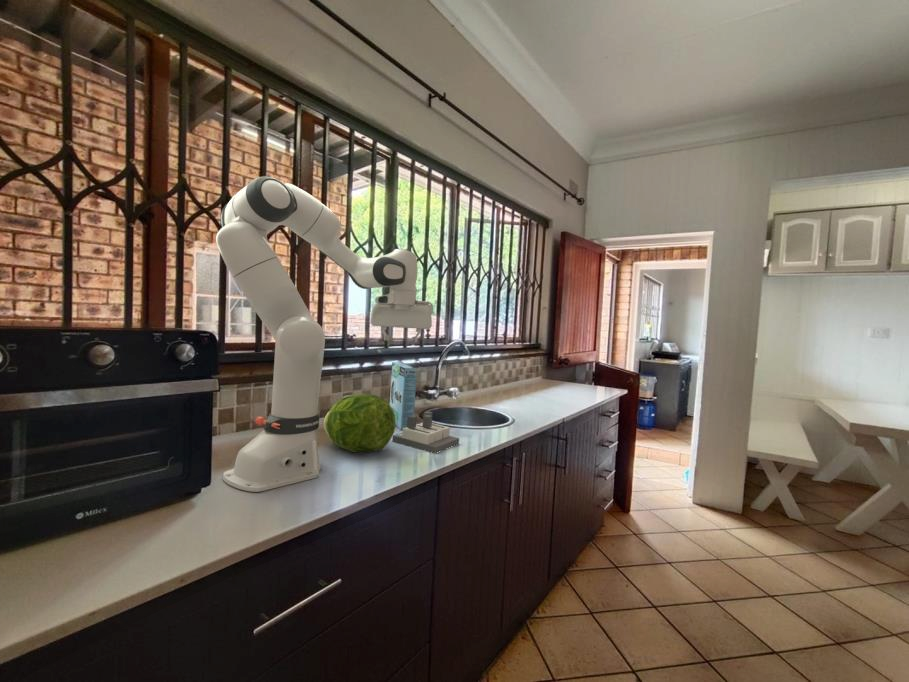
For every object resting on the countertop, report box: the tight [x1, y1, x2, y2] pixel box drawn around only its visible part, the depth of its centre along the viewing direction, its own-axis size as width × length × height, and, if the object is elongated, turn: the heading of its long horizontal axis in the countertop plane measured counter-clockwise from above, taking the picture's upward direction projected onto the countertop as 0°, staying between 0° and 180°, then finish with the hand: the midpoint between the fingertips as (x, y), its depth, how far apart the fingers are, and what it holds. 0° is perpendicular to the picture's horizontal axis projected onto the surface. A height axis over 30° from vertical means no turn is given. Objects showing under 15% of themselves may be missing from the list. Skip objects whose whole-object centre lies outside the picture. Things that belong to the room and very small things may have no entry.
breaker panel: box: [391, 422, 460, 454], centre depth 134 cm, size 14×17×5 cm
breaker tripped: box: [422, 415, 433, 428], centre depth 134 cm, size 2×2×4 cm
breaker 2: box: [423, 411, 434, 417], centre depth 139 cm, size 2×2×4 cm
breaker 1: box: [407, 415, 418, 429], centre depth 131 cm, size 2×2×4 cm
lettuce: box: [323, 393, 396, 454], centre depth 122 cm, size 17×23×17 cm
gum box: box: [389, 361, 418, 431], centre depth 156 cm, size 20×5×23 cm, turn 22°
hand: (400, 341), depth 135 cm, fingers open, 8 cm apart
